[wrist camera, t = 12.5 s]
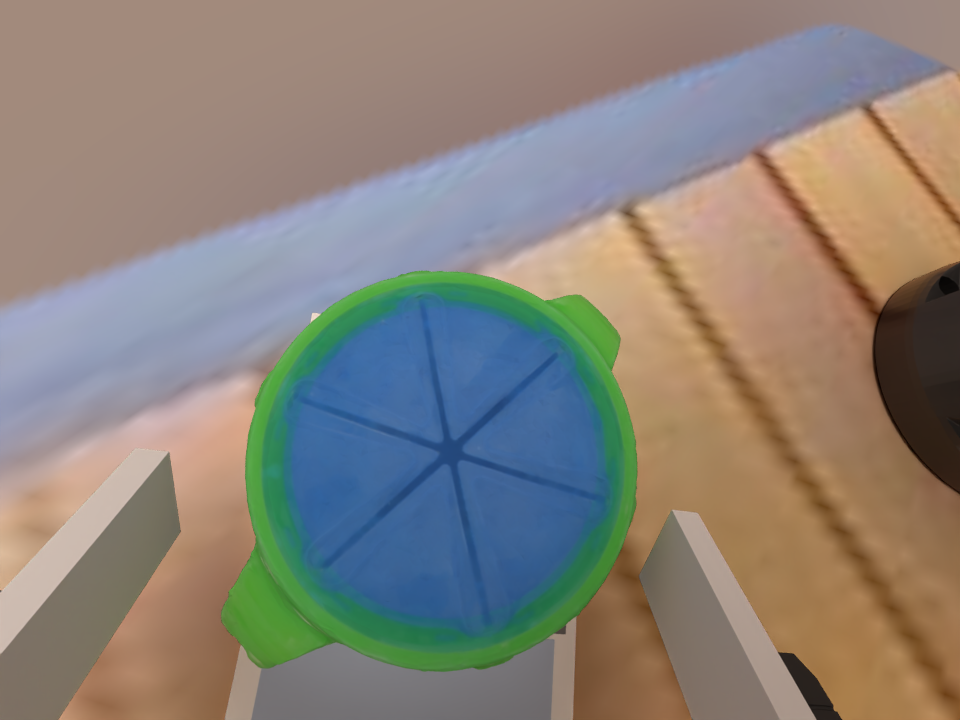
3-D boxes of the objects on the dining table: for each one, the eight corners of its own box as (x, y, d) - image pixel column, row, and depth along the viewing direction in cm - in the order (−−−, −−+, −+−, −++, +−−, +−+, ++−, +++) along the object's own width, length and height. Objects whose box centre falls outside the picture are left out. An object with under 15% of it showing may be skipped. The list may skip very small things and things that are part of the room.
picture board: (579, 358, 26) (586, 352, 25) (555, 962, 19) (564, 989, 18) (315, 319, 25) (312, 312, 24) (178, 967, 17) (163, 997, 16)
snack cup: (346, 697, 19) (292, 887, 10) (212, 479, 21) (51, 458, 11) (622, 465, 24) (772, 439, 14) (496, 298, 25) (554, 174, 16)
